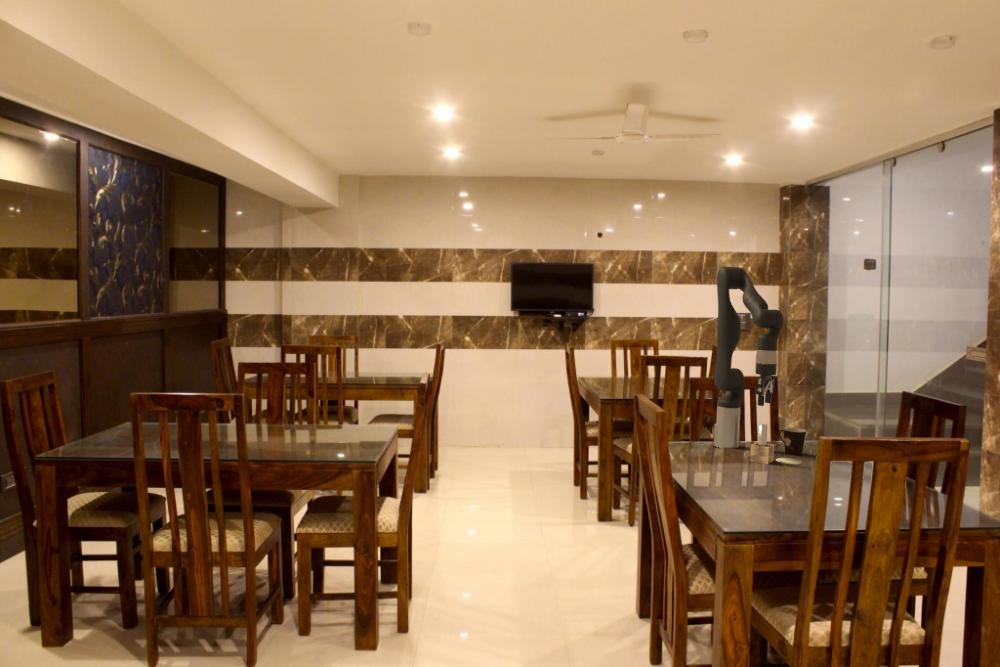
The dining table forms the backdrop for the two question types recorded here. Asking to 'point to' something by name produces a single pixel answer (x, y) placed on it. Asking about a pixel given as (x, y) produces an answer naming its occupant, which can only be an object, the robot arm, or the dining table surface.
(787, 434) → the coffee mug
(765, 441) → the rod
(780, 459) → the saucer
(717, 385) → the robot arm
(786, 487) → the dining table surface
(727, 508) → the dining table surface
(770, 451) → the holder
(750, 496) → the dining table surface
